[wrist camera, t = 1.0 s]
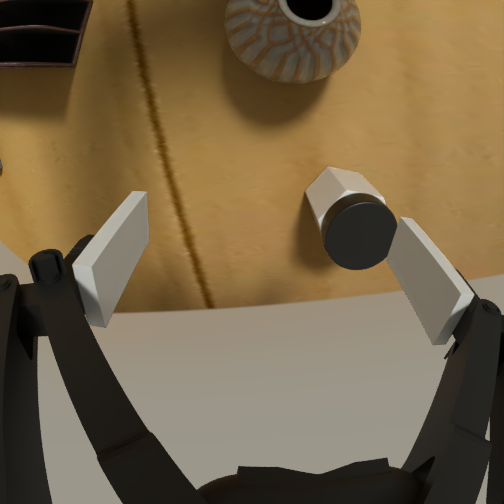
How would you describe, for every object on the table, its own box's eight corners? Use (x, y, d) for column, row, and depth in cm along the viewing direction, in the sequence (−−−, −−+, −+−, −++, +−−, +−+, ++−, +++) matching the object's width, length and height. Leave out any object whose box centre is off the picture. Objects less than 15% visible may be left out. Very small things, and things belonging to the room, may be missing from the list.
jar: (298, 218, 44) (312, 266, 33) (311, 161, 40) (332, 194, 29) (358, 227, 44) (386, 275, 34) (374, 174, 40) (411, 210, 30)
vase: (229, 82, 34) (211, 83, 19) (230, -15, 28) (215, -74, 13) (336, 87, 35) (395, 96, 20) (338, -8, 28) (395, -54, 13)
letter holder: (76, 67, 32) (11, 73, 20) (-16, 66, 29) (-78, 78, 17) (95, 0, 27) (35, -20, 15) (-3, 8, 24) (-64, 7, 12)
